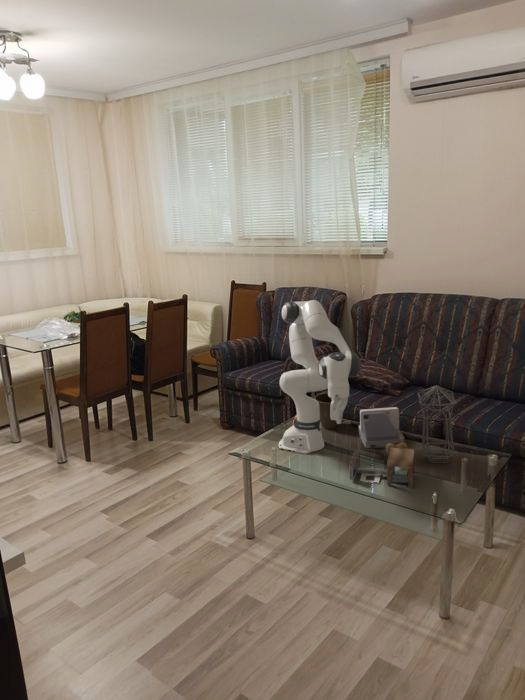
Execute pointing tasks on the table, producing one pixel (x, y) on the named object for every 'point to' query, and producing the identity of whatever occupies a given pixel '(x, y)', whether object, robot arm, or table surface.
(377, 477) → the pit board
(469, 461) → the table surface
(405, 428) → the table surface
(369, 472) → the sled collar
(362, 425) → the instant camera
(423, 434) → the geometric lantern
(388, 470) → the tunnel
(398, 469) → the block
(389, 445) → the lion figurine
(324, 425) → the plant pot
